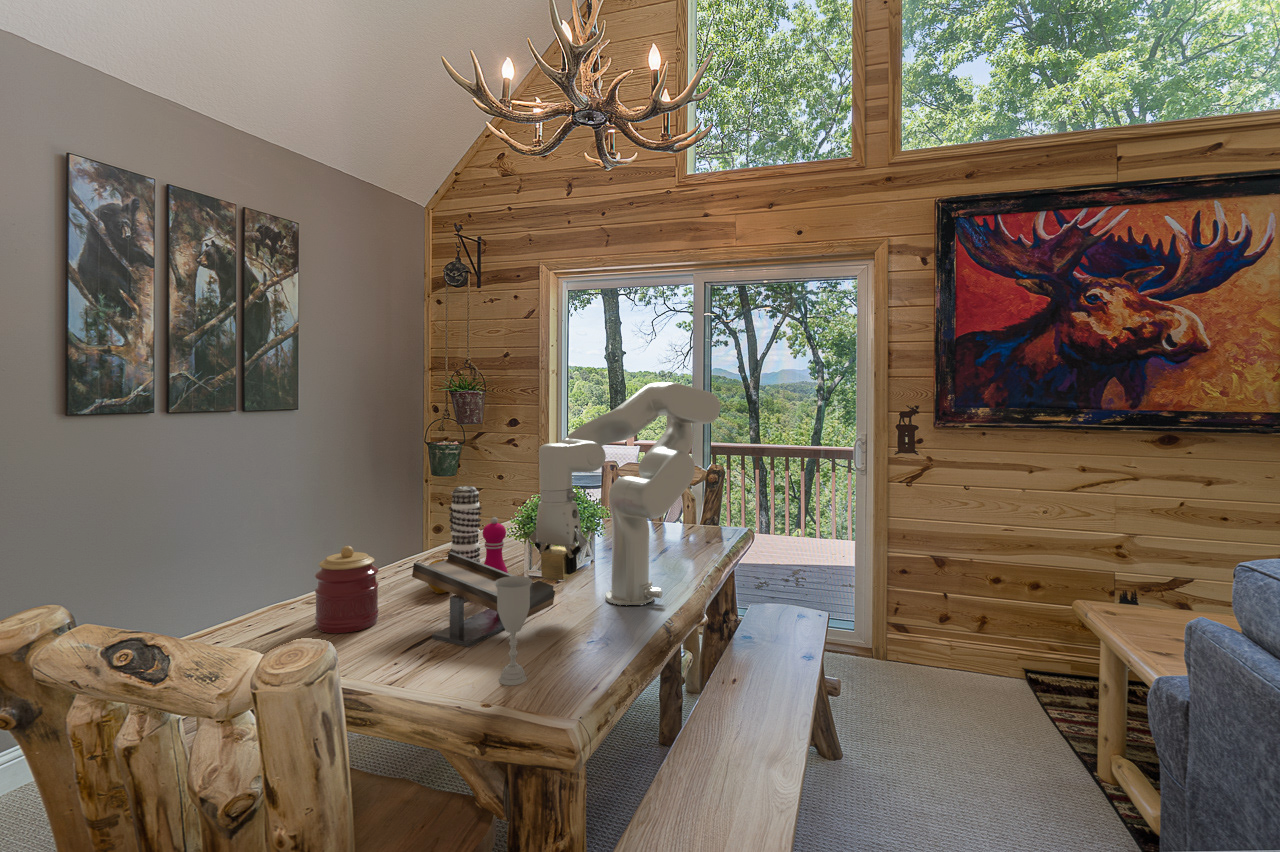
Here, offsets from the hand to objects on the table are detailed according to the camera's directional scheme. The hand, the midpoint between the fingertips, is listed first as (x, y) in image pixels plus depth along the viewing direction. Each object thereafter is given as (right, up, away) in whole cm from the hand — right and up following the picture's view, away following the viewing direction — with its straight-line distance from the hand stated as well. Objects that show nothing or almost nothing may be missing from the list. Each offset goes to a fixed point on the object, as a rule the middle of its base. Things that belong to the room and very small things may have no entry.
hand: (559, 570), depth 151 cm
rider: (0, -1, 0) cm, 1 cm away
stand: (-16, -11, -9) cm, 21 cm away
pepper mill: (-19, -10, +17) cm, 28 cm away
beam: (-16, -3, -9) cm, 19 cm away
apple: (-33, -10, +17) cm, 38 cm away
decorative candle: (-32, -9, +37) cm, 50 cm away
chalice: (-4, -12, -34) cm, 37 cm away
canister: (-47, -10, -7) cm, 48 cm away
